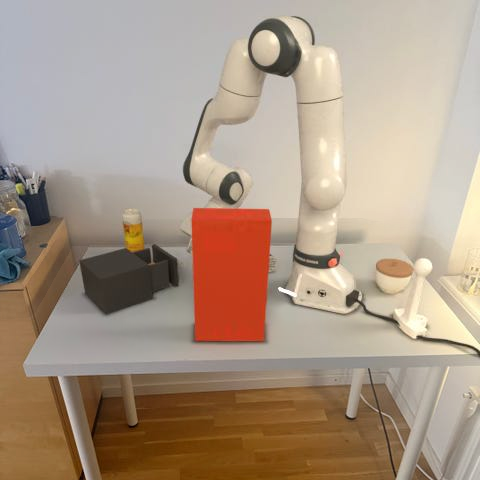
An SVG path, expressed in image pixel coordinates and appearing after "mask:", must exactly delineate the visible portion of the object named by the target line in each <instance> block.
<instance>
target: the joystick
mask: <svg viewBox="0 0 480 480" xmlns="http://www.w3.org/2000/svg"><path fill="white" fill-rule="evenodd" d="M412 267H413V273H414V274H415V276H414V279H413V282H412V285H411V289H410V292H409V294H408V298H407V301H406V304H405V307H400V308H395V309H394V310H393V315H392V319H394V320H396V321H398V323H399V325H400V326H399V325H397V327H398V328H399V329H400V330H401V331H402V332H403V333H404V334H406V335H407V336H409V338H411V339H417V338H416V336H418V335H419V336H423V337H426V335H427V331H428V329H427V327H426V326H427V323H428V321H429V320H428V318H427V317H426V316H425V315H423V314H418V309H419V305H420V301H421V296H422V291H423V288H424V282H425V279H426V277H427V276H428V275H430V273H432V271H433V263H432V262H431V260H430V259H428V258H427V257H426V258H425V257H422V258H421V257H420V258H418V259H416V260H415V261H414V263H413V265H412Z"/></svg>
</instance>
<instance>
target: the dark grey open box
mask: <svg viewBox="0 0 480 480" xmlns="http://www.w3.org/2000/svg"><path fill="white" fill-rule="evenodd" d="M78 262H79V267H80V273H81V279H82V283H83V289H84V294H85V295H86V296H87V297H88V299H90V300H91V301H92V302H93V303H94V304H95V305H96V306H97V307H98V308H99V309H100V310H101V311H102V313H104V314H105V315H108V314H109V315H110V314H111V313H114V312H118V311H120V310H124V309H126V308H129V307H132V306H136V305H138V304H141V303H144V302H147V301H150V300H152V299H153V292H152V290H151V279H150V267H149V264H147V263H146V262H145V261H143V260H142V259H140V258H139V257H138V256H136V255H135V254H134V253H132V252H131V251H130V250H128V249H127V248H126V247H123V248H120V249H117V250H113V251H109V252H105V253H100V254H98V255H94V256H91V257H86V258H83V259H79V260H78Z"/></svg>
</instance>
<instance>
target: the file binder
mask: <svg viewBox="0 0 480 480" xmlns="http://www.w3.org/2000/svg"><path fill="white" fill-rule="evenodd" d="M192 212H193V213H192V219H191V222H192V253H193V255H192V279H193V280H192V283H193V307H194V308H193V311H194V312H193V315H194V341H195V342H264V341H265V333H266V332H265V329H266V318H267V317H266V315H267V300H268V286H269V285H268V284H269V273H270V272H269V257H270V254H271V242H272V226H273V225H272V223H273V219H272V216H271V215H272V214H271V212H270V209H269V208H237V209H231V208H204V207H193V208H192Z"/></svg>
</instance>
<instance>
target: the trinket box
mask: <svg viewBox="0 0 480 480" xmlns="http://www.w3.org/2000/svg"><path fill="white" fill-rule="evenodd" d="M413 273H414V270H413V265H411V263H408V262H407V261H405V260H402V259H397V258H383V259H382V258H381V259H379V260H378V261H377V262H376V263H375V271H374V281H375V283H376V286H378V288H379V290H380V291H381V292H383V293H386V294H391V295H395V294H399V293H400V292H401V291H403V290H405V289H406V288H407V287H408V285H409V283H410V281H411V280H412V279H411V278H412V275H413Z"/></svg>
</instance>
